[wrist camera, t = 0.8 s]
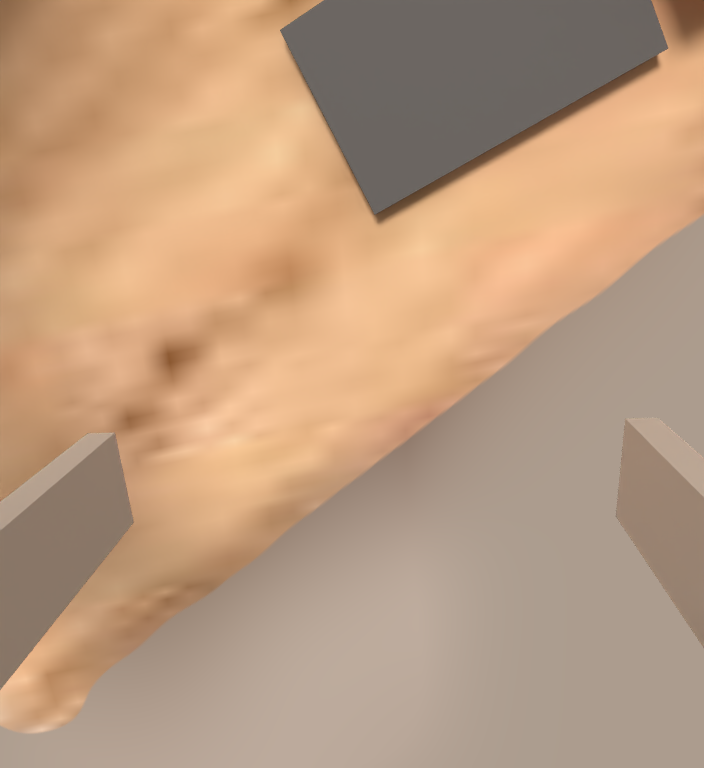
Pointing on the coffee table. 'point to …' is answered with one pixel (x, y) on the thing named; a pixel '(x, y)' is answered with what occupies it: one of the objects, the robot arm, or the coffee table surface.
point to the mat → (456, 75)
